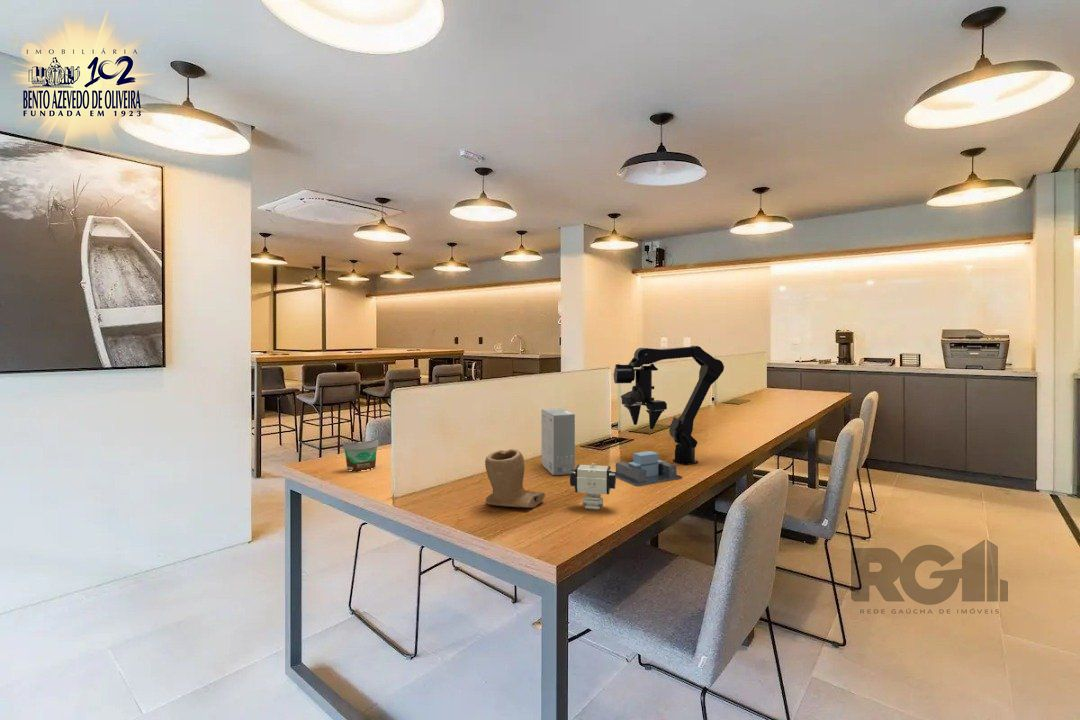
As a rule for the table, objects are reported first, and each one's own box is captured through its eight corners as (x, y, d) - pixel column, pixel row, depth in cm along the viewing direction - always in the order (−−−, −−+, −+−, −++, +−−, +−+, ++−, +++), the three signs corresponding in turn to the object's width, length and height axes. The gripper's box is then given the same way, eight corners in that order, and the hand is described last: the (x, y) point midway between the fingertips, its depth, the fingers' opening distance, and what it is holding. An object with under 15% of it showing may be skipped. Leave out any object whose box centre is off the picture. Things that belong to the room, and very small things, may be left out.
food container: (350, 475, 165) (349, 445, 164) (343, 471, 169) (342, 442, 169) (385, 468, 173) (384, 439, 172) (377, 465, 177) (377, 437, 177)
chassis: (653, 468, 171) (653, 456, 171) (682, 478, 159) (682, 465, 158) (610, 474, 163) (610, 462, 163) (636, 486, 151) (636, 473, 150)
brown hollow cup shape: (477, 510, 132) (476, 453, 131) (495, 496, 143) (495, 444, 142) (531, 516, 127) (530, 458, 126) (545, 501, 138) (545, 447, 137)
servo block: (635, 478, 157) (635, 456, 156) (627, 475, 160) (628, 454, 160) (663, 474, 162) (663, 452, 161) (655, 471, 165) (655, 450, 165)
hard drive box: (575, 474, 164) (575, 414, 163) (553, 476, 162) (553, 415, 161) (561, 462, 179) (561, 407, 178) (540, 464, 177) (540, 408, 176)
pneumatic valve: (572, 503, 136) (572, 460, 135) (615, 506, 133) (615, 462, 133) (569, 510, 131) (569, 465, 130) (614, 513, 128) (614, 467, 127)
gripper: (609, 382, 181) (609, 424, 182) (641, 386, 164) (641, 433, 165) (634, 380, 186) (634, 422, 187) (668, 385, 169) (667, 430, 170)
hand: (643, 426), depth 177 cm, fingers open, 9 cm apart
